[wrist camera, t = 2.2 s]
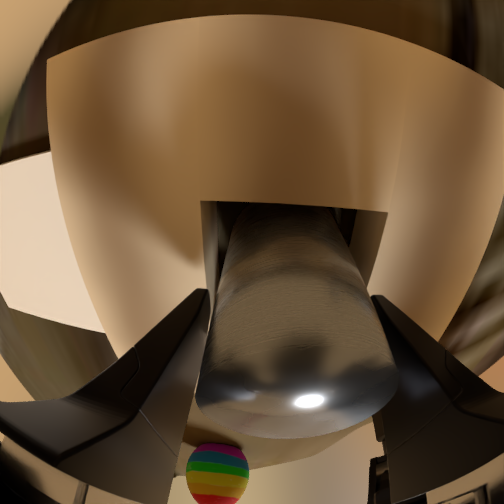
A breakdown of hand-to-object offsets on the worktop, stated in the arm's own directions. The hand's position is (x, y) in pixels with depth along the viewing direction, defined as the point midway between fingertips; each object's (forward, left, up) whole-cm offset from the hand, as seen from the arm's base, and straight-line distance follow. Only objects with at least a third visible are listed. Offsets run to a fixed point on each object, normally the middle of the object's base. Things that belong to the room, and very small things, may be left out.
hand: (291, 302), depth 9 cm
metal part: (0, 0, -4) cm, 4 cm away
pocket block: (0, 0, -4) cm, 4 cm away
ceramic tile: (+17, +1, -4) cm, 17 cm away
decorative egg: (+5, +32, -4) cm, 33 cm away
